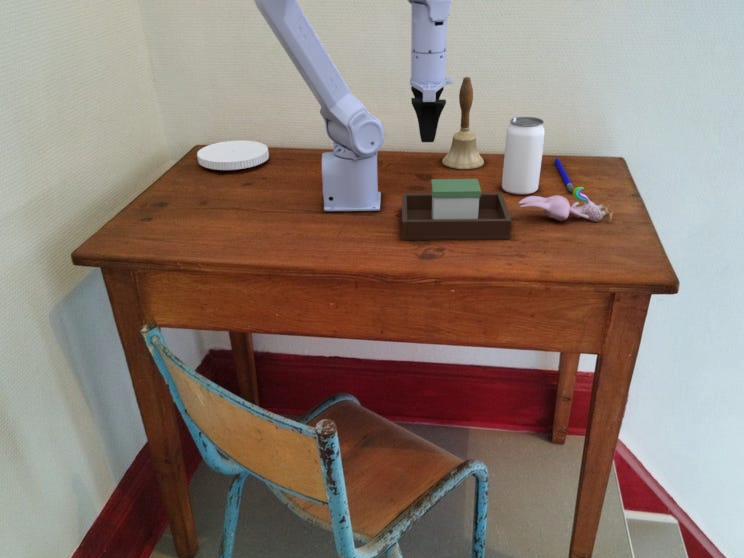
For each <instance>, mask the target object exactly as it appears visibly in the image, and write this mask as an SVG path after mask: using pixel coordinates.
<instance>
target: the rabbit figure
mask: <svg viewBox="0 0 744 558" xmlns="http://www.w3.org/2000/svg"><path fill="white" fill-rule="evenodd" d="M583 190H585V188H584V187H583V186H577V187H574V191H573V192H572V197H573V198H574V199H575V200H577V201H576V202H574V203H572V204H570V201H569V200H568V198H566V197H565V196H563V195H552V196H551V195H550V196H548V197H543V196H539V195H538V196H537V195H530V196H527V197H525V198H523V199H521V200H519V201H518V204H519V205H520V206H519V207H520V208H527V207H529V208H530V207H534V208H538V209H542V210H544V212H545V214H546V216H547V217H549V218H551V219H555V221H559V222H562V221H566V220H567V219H568V218H569V215H573V216H574V217H575V218H577V219H580V218H583V219H585V220H586V221H587V220H588V221H591V222H593V223H598V222H600V221H601V220H602V219H603V218H604V216H607V215H608V223H610V222H611V221H612V219H613V218H612V217H613V213H614V210H613V211H611V212H610V211H609V208H608V207H609V204H608V205H607V206H605V205H604V204H603V203H601V204H599V205H597V204H596V203H595V202H593V201H591V200H590V199H589V197H588V196H587V195H585V194H584V193H581V192H582V191H583ZM579 201H580V202H584V203H583V204H582V205H581V206H579V205H580V202H579ZM602 209H604V210H602Z"/></svg>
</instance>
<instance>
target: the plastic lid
mask: <svg viewBox="0 0 744 558" xmlns="http://www.w3.org/2000/svg"><path fill="white" fill-rule="evenodd" d="M196 157H197V162H198V164H199V165H200V166H201V167H203V168H205V169H210V170H217V171H218V170H219V171H236V170H241V169H242V170H243V169H247V168H248V169H249V168H252V167H256V166H258V165H259V166H260V165H262V164H264V163H265V162H267V161H268V160H269V158H270V153H269V147H268V146H267V145H266V144H265V143H263V142H259V141H254V140H243V139H242V140H241V139H240V140H238V139H237V140H227V141H219V142H215V143H212V144H208V145H206V146H203V147H201V148H200V149H199V150H198V151H197V152H196Z"/></svg>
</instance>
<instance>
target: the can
mask: <svg viewBox="0 0 744 558" xmlns="http://www.w3.org/2000/svg"><path fill="white" fill-rule="evenodd" d="M545 133H546V130H545V127H544V120H543V119H541V118H540V117H539V118H538V117H534V116H517V117H513V118H511V119H510V120H509V125H508V127H507V129H506V133H505V145H504V154H503V155H504V157H503V167H502V179H501V188H502V190H503V191H504V192H506V193H508V194H510V195H515V196H528V195H533V194H535V193H536V192H537V191H538V190H539V185H540V176H541V169H542V160H543V152H544V143H545V135H546V134H545Z"/></svg>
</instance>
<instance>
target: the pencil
mask: <svg viewBox="0 0 744 558" xmlns="http://www.w3.org/2000/svg"><path fill="white" fill-rule="evenodd" d="M554 164H555V166H556V169H557V170H558V172H559V174H560V177H561V178H562V181H563V182H564V185H565V187H566V188H567V191H568V193H573V191H574V189H575V187H574V186H573V183H572V181H571V180H570V177H569V176H568V174H567V172H566V170H565V168H564V167H563V164H562V162H561V160H560V159H559V158H555V159H554Z"/></svg>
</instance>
